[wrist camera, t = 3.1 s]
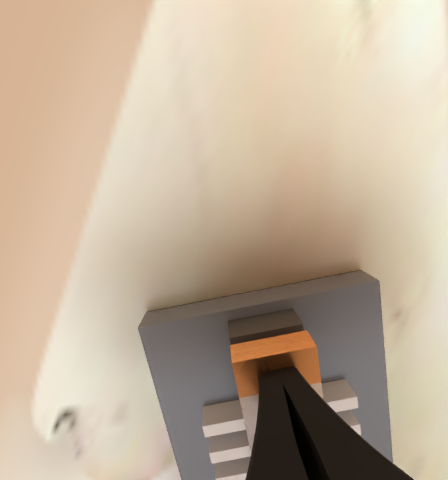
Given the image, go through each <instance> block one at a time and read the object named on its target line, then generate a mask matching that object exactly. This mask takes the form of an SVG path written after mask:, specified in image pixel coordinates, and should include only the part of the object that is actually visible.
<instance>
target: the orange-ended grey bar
mask: <svg viewBox="0 0 448 480" xmlns="http://www.w3.org/2000/svg"><path fill="white" fill-rule="evenodd" d="M230 351H231V361H232V367H233V371H234V376H235V381H236V385H237V390H238V394H239V399H240V404H241V408H242V413H243V418H244V422H245V427H246V432H247V436H248V441H249V446H250V450H251V452H252V447H253V441H254V435H255V429H256V422H257V412H258V401H259V381H258V375H259V374H260V373H261V372H266V371H272V370H277V369H282V368H287V367H292V366H294V367H295V368H297V369H298V371H299V372H300V373H301V375H302V376H303V377H304V378H305V380H306V381H307V382H308V383H309V384H310V385H311V387H312V388H313V389H314V390H315V391H316V392H317V393H318V394H319V396H320V397H321V398H322V399H323V392H322V384H321V375H320V367H319V359H318V351H317V346H316V344H315V343H314V341H313V339H312V338H311V336H310V334H309V333H308V331H307V330H306V331H300V332H295V333H290V334H285V335H280V336H275V337H270V338H264V339H259V340H254V341H249V342H244V343H239V344H234V345H230Z"/></svg>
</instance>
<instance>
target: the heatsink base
mask: <svg viewBox="0 0 448 480" xmlns="http://www.w3.org/2000/svg"><path fill="white" fill-rule="evenodd" d="M138 330H139V333H140V336H141V340H142V343H143V347H144V350H145V354H146V357H147V361H148V364H149V368H150V371H151V375H152V378H153V382H154V385H155V389H156V392H157V396H158V399H159V403H160V406H161V410H162V413H163V417H164V420H165V424H166V427H167V431H168V434H169V438H170V441H171V444H172V448H173V451H174V455H175V458H176V462H177V465H178V469H179V472H180V476H181V479H182V480H245V479H246V475H247V471H248V467H249V462H250V457H251V450H250V446H249V441H248V436H247V432H246V427H245V422H244V418H243V413H242V408H241V404H240V399H239V394H238V390H237V385H236V381H235V376H234V371H233V367H232V361H231V351H230V345H234V344H239V343H244V342H249V341H254V340H259V339H264V338H270V337H275V336H280V335H285V334H290V333H295V332H300V331H306V330H307V331H308V333H309V334H310V336H311V338H312V339H313V341H314V343H315V344H316V346H317V351H318V359H319V367H320V375H321V384H322V392H323V400H324V401H325V402H326V403H327V404H328V405H329V406H330V407H331V408H332V409H333V410H334V411H335V412H336V413H337V414H338V415H339V416H340V417H341V418H342V419H343V420H344V421H345V422H346V423H347V424H348V425H349V426H350V427H351V428H353V429H354V430H355V431H356V432H357V433H358V434H359V435H360V436H361V437H362V438H363V439H365V440H366V441H367V442H368V443H369V444H370V445H371V446H373V447H374V448H375V449H376V450H377V451H379V452H380V453H381V454H382V455H383V456H385V457H386V458H387V459H388V460H389V461H391V462H392V463H393V458H392V445H391V431H390V418H389V405H388V391H387V378H386V365H385V351H384V338H383V325H382V311H381V298H380V285H379V280H377V279H375V278H374V277H372V276H370V275H368V274H367V273H365V272H363V271H362V270H360V271H355V272H350V273H344V274H339V275H334V276H329V277H324V278H319V279H314V280H309V281H303V282H298V283H293V284H288V285H283V286H278V287H273V288H268V289H263V290H257V291H252V292H247V293H242V294H237V295H232V296H227V297H222V298H217V299H211V300H206V301H201V302H196V303H191V304H186V305H181V306H176V307H171V308H165V309H160V310H155V311H150V312H146V314H145V316H144V318H143V320H142V321H141V323H140V325H139V327H138Z"/></svg>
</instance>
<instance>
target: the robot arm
mask: <svg viewBox="0 0 448 480" xmlns="http://www.w3.org/2000/svg"><path fill="white" fill-rule="evenodd" d="M258 381H259V401H258V412H257V422H256V429H255V435H254V441H253V447H252V452H251V457H250V462H249V467H248V471H247V475H246V479H245V480H414V479H412V478H411V477H410V476H409V475H407V474H406V473H405V472H403V471H402V470H401V469H400V468H398V467H397V466H396V465H394V464H393V463H392V462H391V461H389V460H388V459H387V458H386V457H385V456H383V455H382V454H381V453H380V452H379V451H377V450H376V449H375V448H374V447H373V446H371V445H370V444H369V443H368V442H367V441H366V440H365V439H363V438H362V437H361V436H360V435H359V434H358V433H357V432H356V431H355V430H354V429H353V428H351V427H350V426H349V425H348V424H347V423H346V422H345V421H344V420H343V419H342V418H341V417H340V416H339V415H338V414H337V413H336V412H335V411H334V410H333V409H332V408H331V407H330V406H329V405H328V404H327V403H326V402H325V401H324V400H323V399H322V398H321V397H320V396H319V394H318V393H317V392H316V391H315V390H314V389H313V388H312V387H311V385H310V384H309V383H308V382H307V381H306V380H305V378H304V377H303V376H302V375H301V373H300V372H299V371H298V369H297V368H295V367H294V366H292V367H287V368H282V369H277V370H272V371H266V372H261V373H260V374H259V375H258Z"/></svg>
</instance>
